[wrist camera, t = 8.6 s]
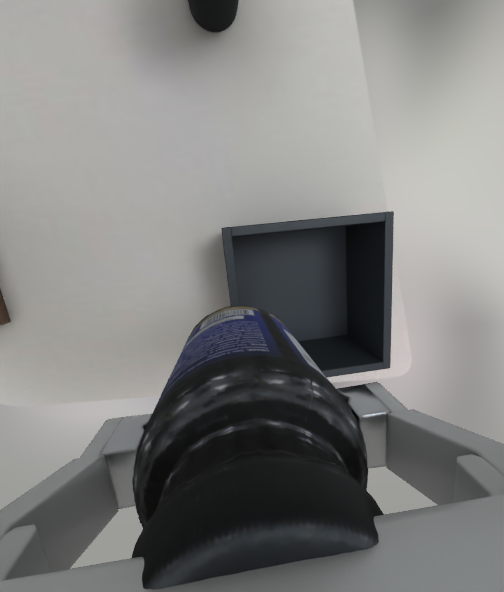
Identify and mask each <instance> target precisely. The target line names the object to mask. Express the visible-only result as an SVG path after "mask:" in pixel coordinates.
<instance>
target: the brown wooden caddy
mask: <svg viewBox="0 0 504 592" xmlns="http://www.w3.org/2000/svg"><path fill="white" fill-rule="evenodd" d="M8 322H10V319H9V316H8V313H7V310H6V306H5V303H4V300H3V297H2V294H1V291H0V325H3V324H6V323H8Z"/></svg>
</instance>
